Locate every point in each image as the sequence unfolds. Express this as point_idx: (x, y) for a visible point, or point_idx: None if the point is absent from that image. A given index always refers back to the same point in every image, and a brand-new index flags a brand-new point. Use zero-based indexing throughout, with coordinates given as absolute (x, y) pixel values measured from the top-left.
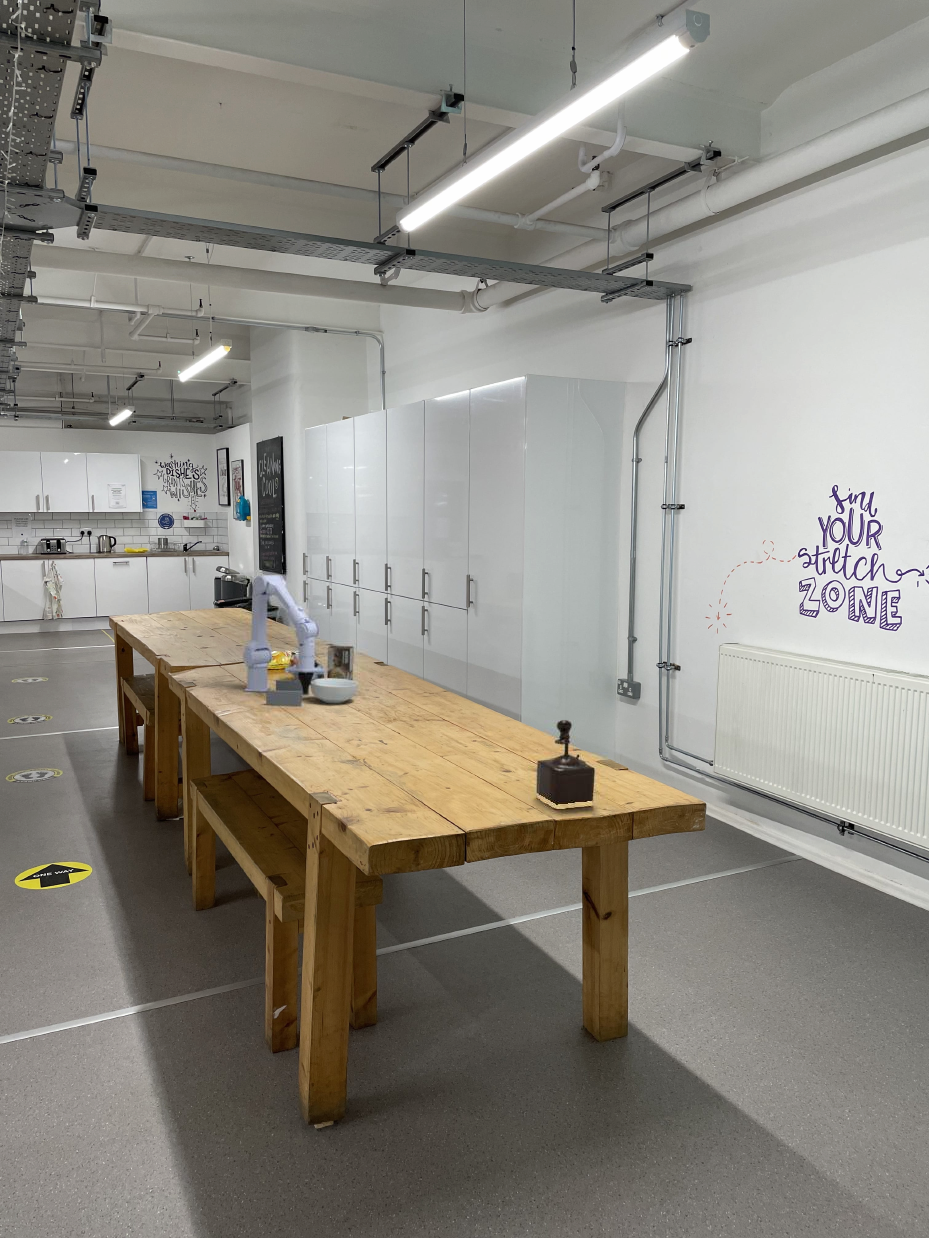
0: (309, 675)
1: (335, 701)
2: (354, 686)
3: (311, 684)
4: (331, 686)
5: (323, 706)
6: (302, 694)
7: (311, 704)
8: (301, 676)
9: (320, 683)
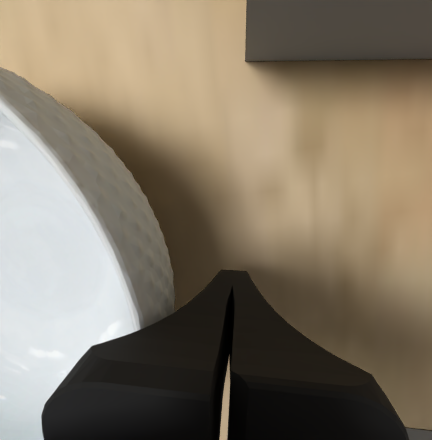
0: (97, 382)
1: (4, 165)
2: None
3: (133, 249)
4: None
5: (77, 62)
6: None
7: (175, 126)
8: (309, 380)
9: None
